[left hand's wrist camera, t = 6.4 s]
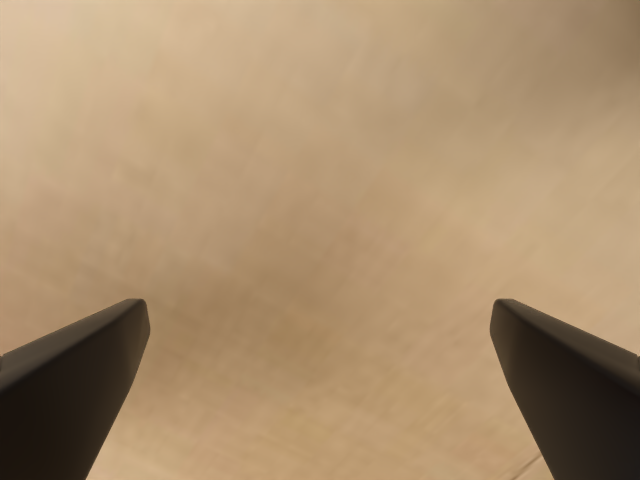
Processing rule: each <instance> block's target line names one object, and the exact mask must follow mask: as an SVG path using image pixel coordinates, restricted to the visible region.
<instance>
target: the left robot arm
mask: <svg viewBox="0 0 640 480" xmlns="http://www.w3.org/2000/svg"><path fill="white" fill-rule="evenodd" d="M149 335H150V323H149V317H148V311H147V305H146V302H145V301H144V300H143V299H126V300H124V301H122V302H120V303H117V304H115V305H113V306H111V307H108V308H106V309H104V310H102V311H100V312H97V313H95V314H93V315H91V316H88V317H86V318H84V319H82V320H79V321H77V322H75V323H73V324H71V325H68V326H66V327H64V328H62V329H59V330H57V331H55V332H53V333H50V334H48V335H46V336H44V337H41V338H39V339H37V340H35V341H33V342H30V343H28V344H26V345H24V346H21V347H19V348H17V349H15V350H12V351H10V352H8V353H6V354H4V355H3V356H2V357H1V356H0V480H86V478H87V476H88V474H89V472H90V470H91V468H92V465H93V463H94V461H95V459H96V457H97V455H98V453H99V451H100V449H101V447H102V445H103V443H104V441H105V439H106V437H107V435H108V433H109V431H110V429H111V427H112V425H113V423H114V421H115V419H116V417H117V415H118V413H119V411H120V409H121V407H122V405H123V403H124V400H125V398H126V396H127V394H128V392H129V390H130V388H131V386H132V383H133V381H134V378H135V375H136V373H137V370H138V367H139V364H140V361H141V358H142V356H143V353H144V350H145V347H146V344H147V341H148V338H149ZM490 335H491V338H492V341H493V344H494V347H495V350H496V353H497V356H498V358H499V361H500V364H501V367H502V370H503V373H504V375H505V378H506V381H507V383H508V386H509V388H510V390H511V392H512V394H513V396H514V398H515V401H516V403H517V405H518V407H519V409H520V411H521V413H522V415H523V417H524V419H525V421H526V423H527V425H528V427H529V429H530V431H531V433H532V435H533V437H534V439H535V441H536V443H537V445H538V447H539V449H540V451H541V453H542V455H543V457H544V459H545V461H546V463H547V465H548V468H549V470H550V472H551V474H552V476H553V478H554V480H640V356H639V357H638V356H637V355H636V354H634V353H632V352H630V351H628V350H625V349H623V348H621V347H619V346H616V345H614V344H612V343H610V342H607V341H605V340H603V339H601V338H599V337H596V336H594V335H592V334H590V333H587V332H585V331H583V330H581V329H578V328H576V327H574V326H572V325H569V324H567V323H565V322H563V321H561V320H558V319H556V318H554V317H552V316H549V315H547V314H545V313H543V312H540V311H538V310H536V309H534V308H532V307H529V306H527V305H525V304H523V303H520V302H518V301H516V300H514V299H497V300H496V301H495V302H494V305H493V311H492V317H491V323H490Z"/></svg>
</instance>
